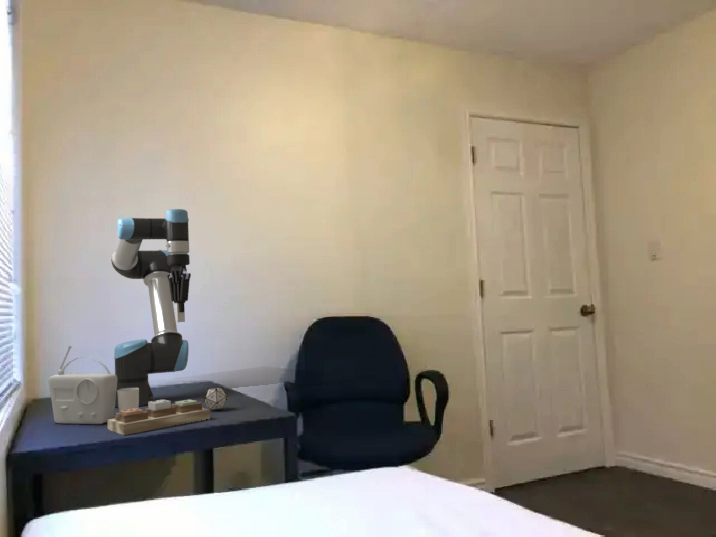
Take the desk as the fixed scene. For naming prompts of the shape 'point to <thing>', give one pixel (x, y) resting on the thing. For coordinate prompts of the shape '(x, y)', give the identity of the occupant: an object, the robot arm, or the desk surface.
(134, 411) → the button three dots
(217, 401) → the game die
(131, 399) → the drinking glass
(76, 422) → the radio
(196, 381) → the desk surface
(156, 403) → the button two dots
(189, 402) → the button one dot
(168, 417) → the button console
